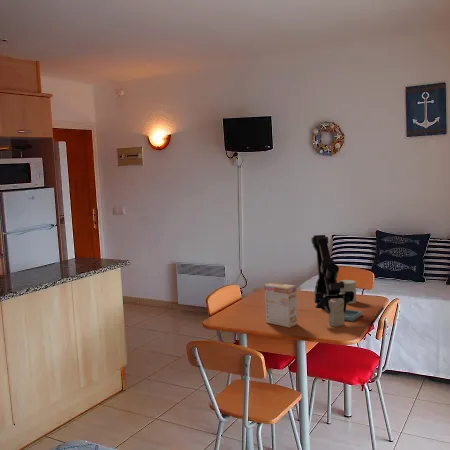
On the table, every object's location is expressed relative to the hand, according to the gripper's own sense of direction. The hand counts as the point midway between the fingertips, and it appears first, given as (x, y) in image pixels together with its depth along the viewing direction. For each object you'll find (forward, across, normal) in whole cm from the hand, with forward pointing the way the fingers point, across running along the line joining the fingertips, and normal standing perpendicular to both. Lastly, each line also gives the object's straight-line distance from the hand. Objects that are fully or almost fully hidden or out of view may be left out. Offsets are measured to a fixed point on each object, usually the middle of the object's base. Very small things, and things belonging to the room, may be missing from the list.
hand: (337, 312), depth 245 cm
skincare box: (+4, 0, +6) cm, 7 cm away
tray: (-5, +7, +15) cm, 17 cm away
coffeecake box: (-1, -26, +11) cm, 28 cm away
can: (-26, +15, +35) cm, 46 cm away
